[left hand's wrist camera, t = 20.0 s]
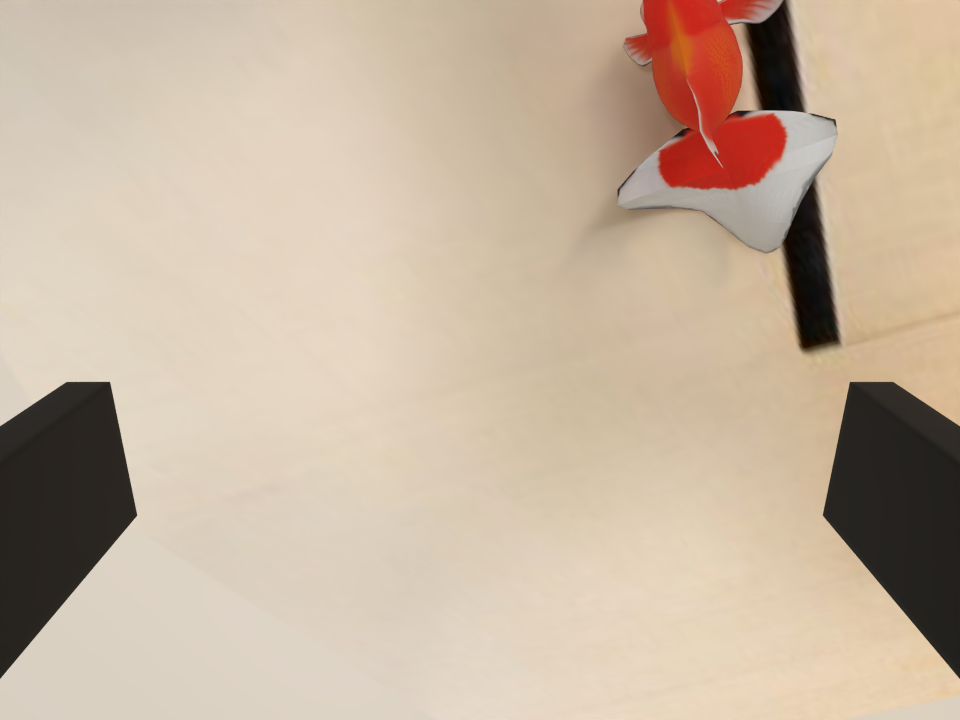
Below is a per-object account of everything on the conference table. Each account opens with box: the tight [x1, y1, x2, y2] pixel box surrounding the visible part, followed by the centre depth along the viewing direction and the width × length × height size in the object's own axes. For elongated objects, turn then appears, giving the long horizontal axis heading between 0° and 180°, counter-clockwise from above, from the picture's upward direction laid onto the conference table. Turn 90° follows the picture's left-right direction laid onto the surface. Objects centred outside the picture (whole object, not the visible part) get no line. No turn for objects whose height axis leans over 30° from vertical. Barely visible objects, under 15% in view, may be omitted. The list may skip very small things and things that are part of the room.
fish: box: [618, 0, 838, 253], centre depth 35 cm, size 11×16×10 cm
